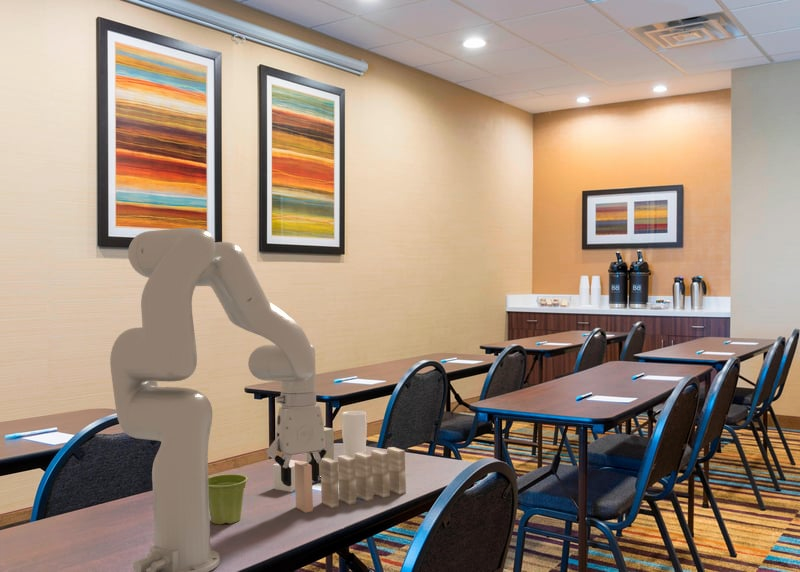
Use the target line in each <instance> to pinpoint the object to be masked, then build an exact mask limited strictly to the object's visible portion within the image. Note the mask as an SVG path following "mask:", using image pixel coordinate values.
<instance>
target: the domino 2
mask: <svg viewBox="0 0 800 572" xmlns="http://www.w3.org/2000/svg"><path fill="white" fill-rule="evenodd" d="M320 482H321V483H320V486H321V487H320V488H321V503H322V504H323V505H325V506H327V507H329V508H331V509H334V508H339V507H340V500H339V479H338V460H335V459H334V460H332V459H330V458H322V459H321V478H320Z"/></svg>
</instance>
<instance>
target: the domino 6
mask: <svg viewBox="0 0 800 572" xmlns="http://www.w3.org/2000/svg"><path fill="white" fill-rule="evenodd" d="M386 452H387V453H389V484H390V492H393V493H395V494H398V495H403V494H406V493H407V486H406V485H407V483H406V481H407V480H406V479H407V478H406V453H405V452H406V451H405V449H401V448H398V447H395V446H391V447H390V446H389V447H387V448H386Z"/></svg>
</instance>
